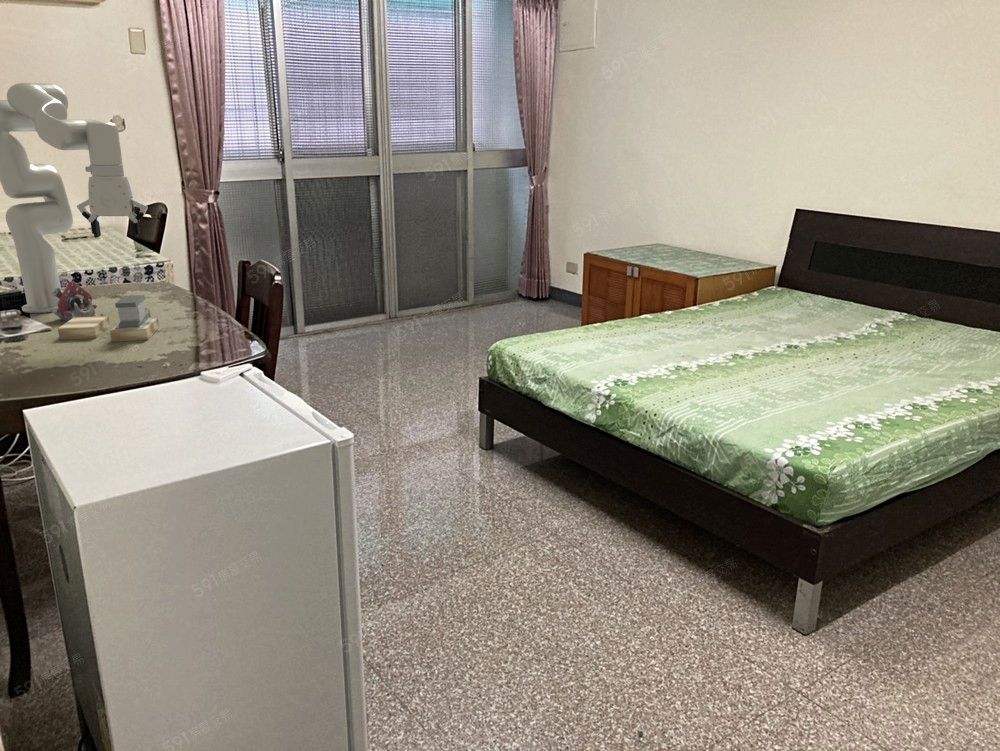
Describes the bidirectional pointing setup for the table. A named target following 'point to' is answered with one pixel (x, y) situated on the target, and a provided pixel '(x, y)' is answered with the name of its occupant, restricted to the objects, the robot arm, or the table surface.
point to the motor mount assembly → (73, 303)
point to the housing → (131, 311)
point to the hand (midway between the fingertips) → (116, 236)
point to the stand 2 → (135, 331)
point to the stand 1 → (84, 327)
